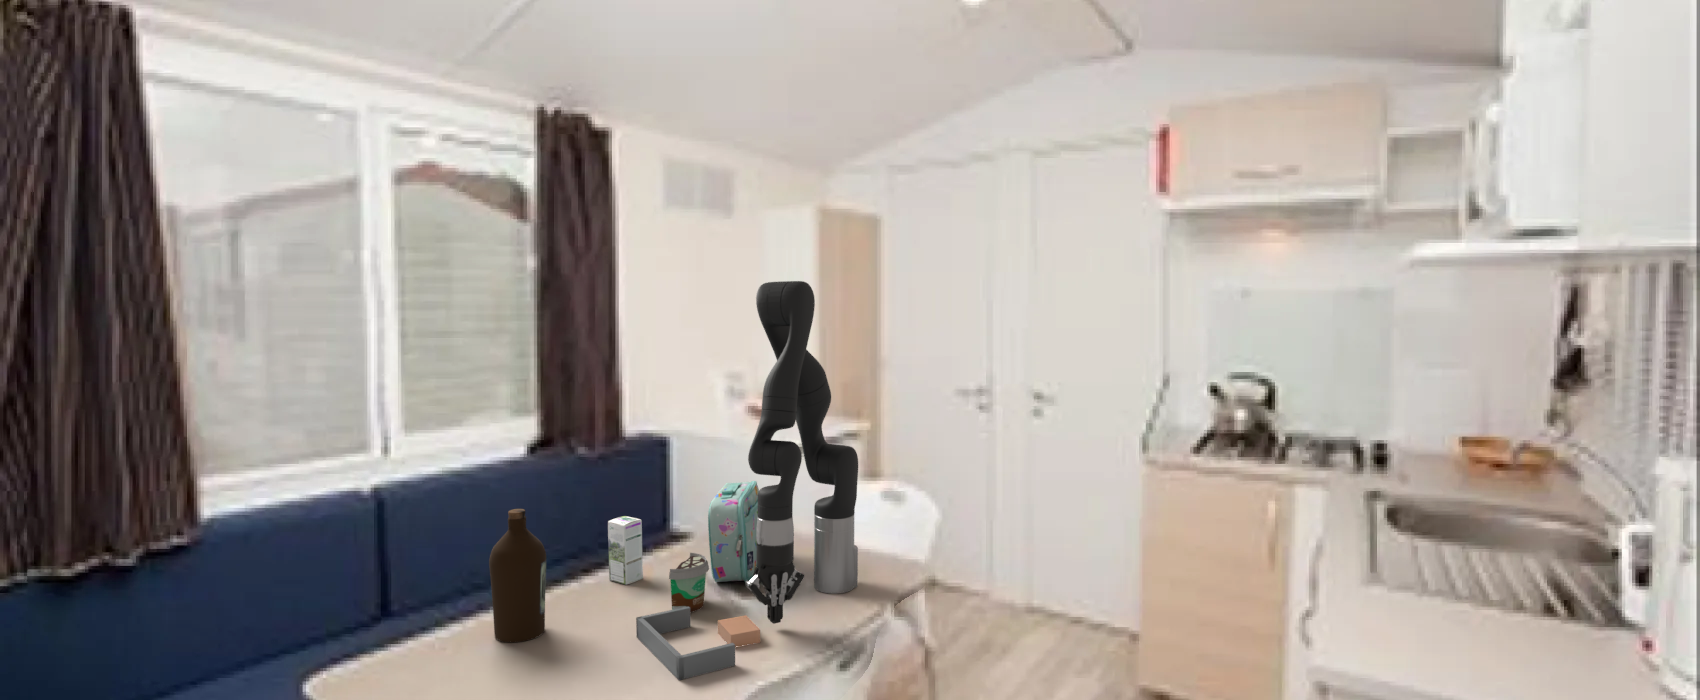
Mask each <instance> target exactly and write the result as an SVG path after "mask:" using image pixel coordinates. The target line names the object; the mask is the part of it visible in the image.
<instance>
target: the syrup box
mask: <svg viewBox="0 0 1700 700" xmlns="http://www.w3.org/2000/svg"><path fill="white" fill-rule="evenodd" d="M642 523H643V521H642V519H640V518H637V517H633V516H632V517H631V516H627V515H623V516H618V517H616V518H613V519H610V520H607V537H608V538H607V541H608V570H609V571H608V572H609V573H608V576H609V578H608V579H609V581H611V582H615V583H619V584H622V585H625V586H626V585H629V584H633V583H635V582H637V581H640V580H642V579H644V578H643V577H644V572H643V570H644V569H643V528H642V527H643V525H642Z"/></svg>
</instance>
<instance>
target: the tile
mask: <svg viewBox="0 0 1700 700" xmlns="http://www.w3.org/2000/svg"><path fill="white" fill-rule="evenodd" d="M717 634H718V635H719V636H720V638H721V639H722V640H723V641H724V642H725V641H726V642H727V643H726V642H725V643H726V644H730V643H734V644H735V647H736V646H741V647H743V646H742V645H746V646H748V645H747V644H751V645H754V644H753V643H756V644H760V643H761V629H760V627H758V626H757V624H755V623H754V622H753V621H752V619H750V617H748V615H746V614H744V615H741V616H736V617H729V618H723V619H718V620H717ZM736 648H737V647H736Z"/></svg>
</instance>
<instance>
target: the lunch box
mask: <svg viewBox="0 0 1700 700" xmlns="http://www.w3.org/2000/svg"><path fill="white" fill-rule="evenodd" d="M759 490H760V489H759V486H758V481H757V480H752V481H743V482H740V481H739V482H726V483H725V484H724V485H723V486H722V487H721V489H720V490H718V492H717V494H716V495H715V496H714V497H713V498H712V500H711V502H710V504H709V508H708V511H707V512H708V515H707V516H708V517H707V523H708V524H707V527H708V529H707V530H708V541H709V542H708V545H709V547H708V548H709V556H710V571H711V575H712V578H713V579H714V582H716V583H720V582H721V583H722V582H725V583H726V582H737V581H738V582H744V583H745V582H746V581H747V580H749V581H750V580H751V579H752V578H753V577H754V574H755V570H756V568H757V561H756V527H757V519H758V492H759ZM713 579H712V580H713ZM743 580H744V581H743Z"/></svg>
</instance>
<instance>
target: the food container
mask: <svg viewBox="0 0 1700 700" xmlns="http://www.w3.org/2000/svg"><path fill="white" fill-rule="evenodd" d="M709 571H710V566H709V561H708V560H707V557H706V556H705V555H703V554H701V553H696V552H689V557H688V558H687V559H686V560H683V561H682V562H680V563H679V565H678V566H677V567H676V568H670V569H669V574H668V580H669V581H670V582H669V583H670V597H671V598H670V599H671V610H674V609H678V608H683V607H688V606H689V607H690V613H694V612H697V611H699V610H701V609H702V608H703V607H704V605H705V590H706V580H707V579H706V576H707V573H708V572H709ZM693 611H694V612H693Z"/></svg>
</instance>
